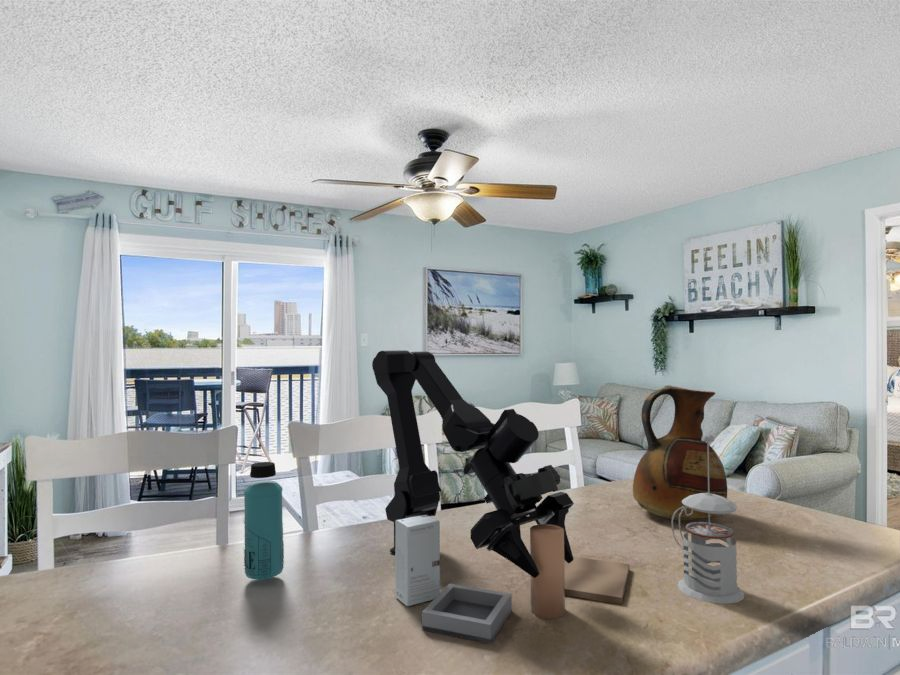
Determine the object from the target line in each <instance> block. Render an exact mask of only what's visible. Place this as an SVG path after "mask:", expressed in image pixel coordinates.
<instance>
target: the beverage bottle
mask: <svg viewBox="0 0 900 675" xmlns="http://www.w3.org/2000/svg"><path fill="white" fill-rule="evenodd" d="M275 464H276V463H274V462H272V461H261V462H254V463H252V464H251V465H250V472H249V477H250V478H252V479H266V478H272V477H274V476H276V474H277V472H276V465H275ZM243 495H244V497H243V498H244V516H243V515H242V516H243V521H242V522H243V524H244V541H243V542H244V543H243V544H244V548H243V554H244V558H243V559H244V561H243V570H244V573H245V576H246V578H248V579H252V580H266V579H267V580H268V579H271V578H274V577H277V576H278V575H280V574H281V573H283V570H284V563H285V556H284V554H285V549H284V547H285V544H284V523H283V487H282V486H281V484H280V483H278V482H277V481H275V480H270V479H269V480H258V481H254V482H252V483H250V484H249V485H247V486H246V488H245V489H244V491H243Z"/></svg>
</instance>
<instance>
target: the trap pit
mask: <svg viewBox="0 0 900 675" xmlns="http://www.w3.org/2000/svg"><path fill="white" fill-rule="evenodd" d="M512 598H513V597H512V593H509V592H503V591H497V590H493V589H492V590H491V589H485V588H480V587H474V586H473V587H472V586H467V585H461V584H454V583H448V584H447V585H446V586H445V587H444V589H443V590H442V591H440V594H439V595H438V596H437V597H436V598H435V599H433V600H431V602H430V603H429V604H427V606H426V607H425V608H424V609H423V610H422V611H421V621H422V622H421V626H422V627H421V628H422V629H421V630H422V631H425V632H429V633H436V634H441V635H446V636H450V637H456V638H461V639H465V640H469V641H475V642H479V643H484V644H490V645H491V644H492V642H493V641H494V639H495V638H496V636H497V635H498V633H499V632H500V630H501V628H502V627H503V625H504V623H505V622H506V620H507V619H508V618H509V616H510V614H511V612H512V610H513V608H512V607H513V606H512V605H513V603H512V601H513V600H512Z"/></svg>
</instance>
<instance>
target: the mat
mask: <svg viewBox="0 0 900 675" xmlns="http://www.w3.org/2000/svg"><path fill="white" fill-rule="evenodd" d="M564 570H565V596H568V597H574V598H580V599H587V600H593V601H599V602H603V603H604V602H606V603H610V604H611V603H612V604H618V605H622V604H623V601H624V596H625V592H626V587H627V583H628V578H629V574H630V563H624V562H616V561H607V560H603V559H602V560H600V559H593V558H585V557H578V556H573V561H572V562H571V563H567V562H566V561H565V560H564Z"/></svg>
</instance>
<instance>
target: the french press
mask: <svg viewBox="0 0 900 675" xmlns="http://www.w3.org/2000/svg"><path fill="white" fill-rule="evenodd" d="M701 441H705V442H707V456H708V493H699V494H694V495H690V496H688V497H686V498H685V499H683V500H682V503H683V504H684V505H685V506H686V507H681V508H678V509H677V510H676V511H675V512H674V514H673V516H672V519H671V532H672V535H673V538H674V541H675V543H676V544H677V545H678V547H679V548H680V549H681V550H682V551H683V578H682V579H680V580H679V581H678V583H677V588H678V589H679V590H680V592H681V593H683V594H685V595H686V596H688V597H691V598H693V599H696V600H698V601H702V602H706V603H710V604H711V603H712V604H723V605H724V604H725V605H726V604H727V605H729V604H735V603H739V602H741V601H742V600H744V599H745V592H744V591H742V590H741V588H740V587H739V586H738V582H737V580H738V574H737V573H738V567H737V562H738V561H737V540H736V539H735V538H734V537H733V536H734V535H735V531H734V530H733V529H732V528H730V527H729V526H725V525H723V524H718V523H713V522H711V517H710V513H711V514H719V515H725V514H732V513H735V512H736V511H737V509H738V505H736V504H735V503H734V502H732V501H731V500H729V499H728V498H727V499H726V498H724V497H722V496H719V495H716V494H711V493H710V491H709V445H710V444H709V443H711V442H713V443H714V441H715V437H714V436H713V435H712V434H711V433H704V434H703V436H702V439H701ZM682 508H684V509H682ZM686 508H689V509H692V511H691V513H690V514H687V513H686ZM679 509H682V511H681V513H680V515H679V520H678V531H679V534H680V537H681V540H682V542H683V545H682V546H683V547H682V546H681V544H680V543H679V542H678V539H677V538H676V535H675V529H674V520H673V519H674V516H675V514H676V512H677V511H678V510H679ZM683 510H685V515H687V516H689V515H691V514H693V510H696V511H700V512H705V513H708V517H707V518H708V522H707V521H705V522H704V521H694V522H689V523H687V524H686V525H685V526H684V527H685V530H686V531H687V532H685V533H684V534H682V529H681V520H680V517H681V514H682V512H683ZM689 534H690V536H691V537H690V538H691V541H690V540H689ZM709 540H719V541H722V542H724V543H726V544H727V545H728V546H727V545H725V544H722V543H720V542H709V543H706V542H707V541H709ZM689 549H690V550H691V551H689ZM689 557H690V559H691V560H690V559H689ZM712 563H717V564H718V563H719V564H718V565H710V564H712ZM690 566H691V568H690Z"/></svg>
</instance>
